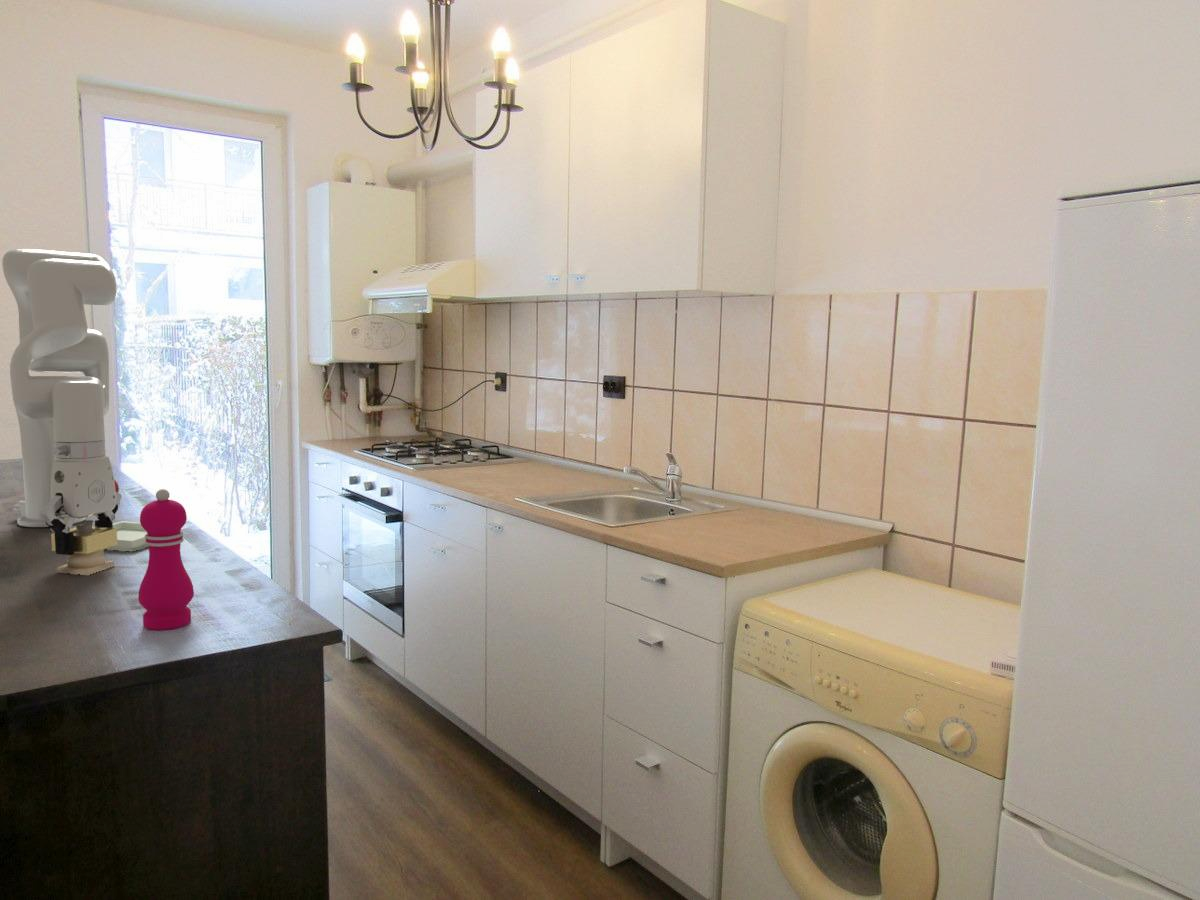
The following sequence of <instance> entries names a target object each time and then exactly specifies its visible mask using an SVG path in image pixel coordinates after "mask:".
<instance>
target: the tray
mask: <svg viewBox="0 0 1200 900" xmlns="http://www.w3.org/2000/svg"><path fill="white" fill-rule="evenodd" d="M113 528H117V545H114V546H111V547H108V548H105V549H107V550H106V551H113V550H119V551H118V552H125V551H135V552H137V551H136V550H138V551H140V550H139V549H141V550H143V549H142V548H144V549H146V548H145V547H147V548H148V545H146V544H145V541H146V540H145V539H146V538H145V534H147V531H146V530H145V529H144V528H143V527H142V526H141V523H140V521H139V522H138V521H126V520H122V521H117V522H113ZM180 531H182V529H181V530H180Z"/></svg>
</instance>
